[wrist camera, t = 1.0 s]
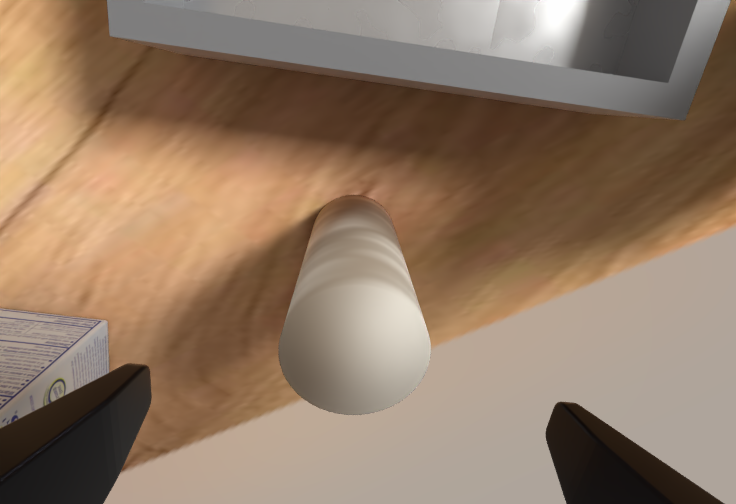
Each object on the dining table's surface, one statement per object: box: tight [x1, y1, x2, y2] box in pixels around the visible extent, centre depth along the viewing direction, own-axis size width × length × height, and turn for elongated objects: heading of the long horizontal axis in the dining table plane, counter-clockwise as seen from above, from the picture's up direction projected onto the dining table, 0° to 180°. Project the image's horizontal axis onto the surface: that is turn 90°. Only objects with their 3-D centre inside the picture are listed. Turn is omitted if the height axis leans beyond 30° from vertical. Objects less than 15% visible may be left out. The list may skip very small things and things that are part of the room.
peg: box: [279, 195, 431, 415], centre depth 15 cm, size 4×4×10 cm
